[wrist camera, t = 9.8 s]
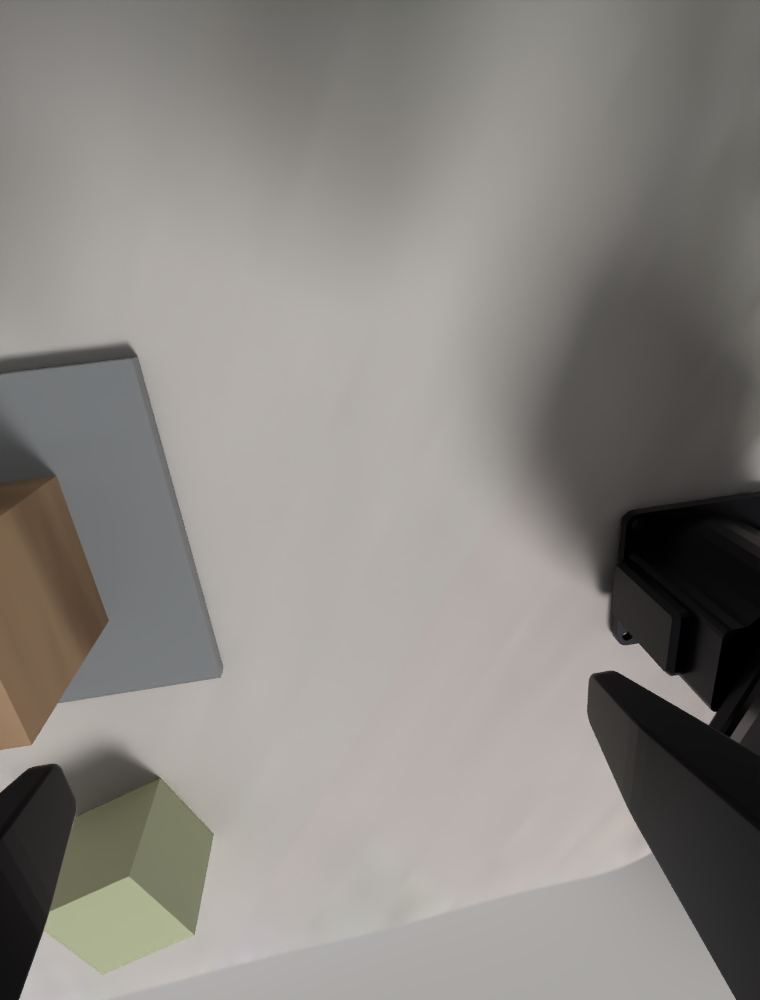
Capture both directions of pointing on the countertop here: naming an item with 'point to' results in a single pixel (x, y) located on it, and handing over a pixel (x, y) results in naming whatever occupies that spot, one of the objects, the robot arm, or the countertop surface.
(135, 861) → the olive block
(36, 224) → the countertop surface
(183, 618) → the slate coaster
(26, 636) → the walnut cube
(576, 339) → the countertop surface
